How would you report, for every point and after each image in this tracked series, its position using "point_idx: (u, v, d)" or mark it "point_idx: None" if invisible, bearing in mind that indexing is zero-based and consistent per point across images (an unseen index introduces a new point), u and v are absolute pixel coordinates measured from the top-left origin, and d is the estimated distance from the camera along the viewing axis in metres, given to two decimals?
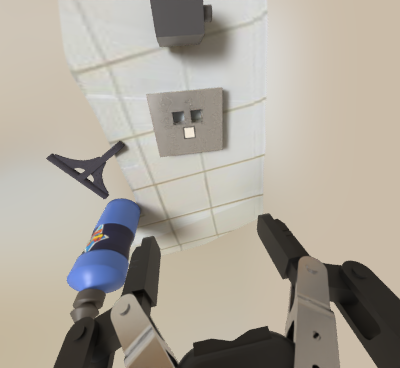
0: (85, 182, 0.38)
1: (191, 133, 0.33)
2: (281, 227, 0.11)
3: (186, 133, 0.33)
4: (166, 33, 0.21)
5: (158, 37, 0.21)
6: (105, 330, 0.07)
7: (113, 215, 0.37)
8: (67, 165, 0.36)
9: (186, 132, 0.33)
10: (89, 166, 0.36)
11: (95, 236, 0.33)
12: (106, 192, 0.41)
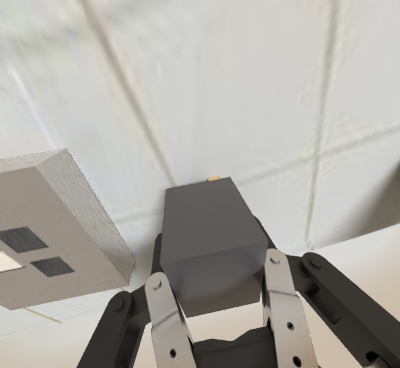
0: None
1: (1, 266, 0.13)
2: None
3: None
4: (173, 278, 0.08)
5: None
6: (139, 309, 0.08)
7: None
8: None
9: None
10: None
11: None
12: None
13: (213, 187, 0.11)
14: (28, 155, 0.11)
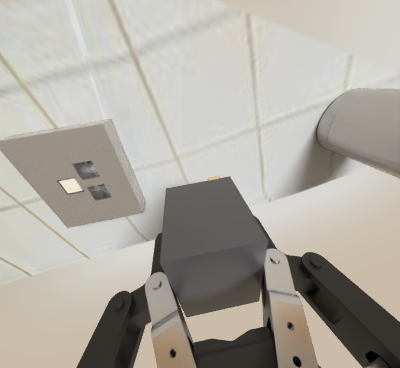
0: None
1: (71, 189, 0.22)
2: None
3: (68, 181, 0.21)
4: (173, 277, 0.08)
5: None
6: (139, 309, 0.08)
7: None
8: None
9: (69, 182, 0.21)
10: None
11: None
12: None
13: (213, 187, 0.11)
14: (91, 122, 0.20)
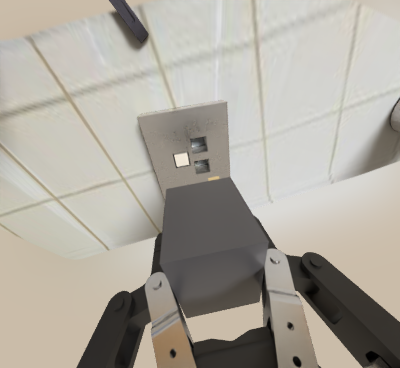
0: None
1: (181, 162, 0.25)
2: None
3: (181, 155, 0.24)
4: (173, 278, 0.08)
5: None
6: (139, 309, 0.08)
7: None
8: None
9: (181, 156, 0.24)
10: None
11: None
12: None
13: (213, 187, 0.11)
14: None
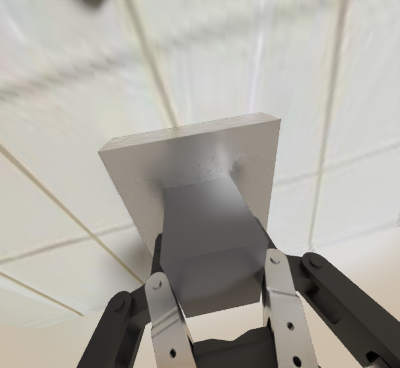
0: None
1: None
2: None
3: None
4: (173, 278, 0.08)
5: None
6: (139, 309, 0.08)
7: None
8: None
9: None
10: None
11: None
12: None
13: (213, 187, 0.11)
14: (231, 118, 0.13)
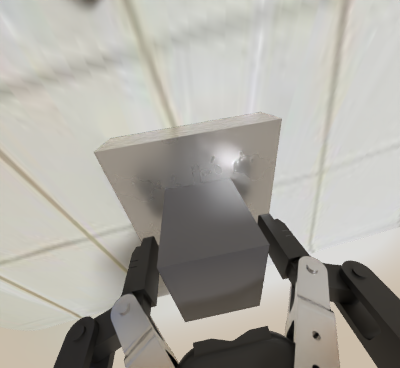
0: None
1: None
2: (281, 227, 0.11)
3: None
4: (171, 282, 0.08)
5: None
6: (105, 330, 0.07)
7: None
8: None
9: None
10: None
11: None
12: None
13: (212, 188, 0.11)
14: (230, 117, 0.12)
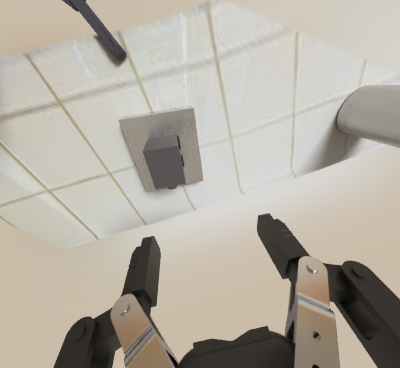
0: None
1: None
2: (281, 227, 0.11)
3: None
4: (147, 160, 0.23)
5: None
6: (105, 330, 0.07)
7: None
8: None
9: None
10: None
11: None
12: None
13: (167, 137, 0.26)
14: (177, 108, 0.28)
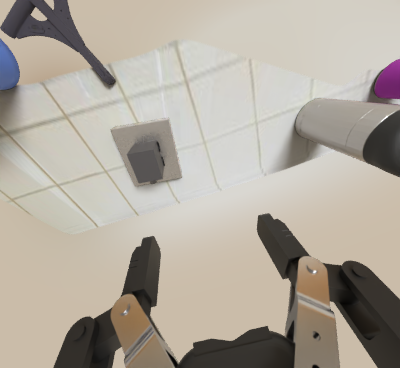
0: (26, 2, 0.24)
1: None
2: (281, 227, 0.11)
3: None
4: (131, 160, 0.30)
5: None
6: (105, 330, 0.07)
7: None
8: None
9: None
10: (63, 22, 0.25)
11: None
12: (18, 35, 0.26)
13: (149, 142, 0.34)
14: (157, 119, 0.35)
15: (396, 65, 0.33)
